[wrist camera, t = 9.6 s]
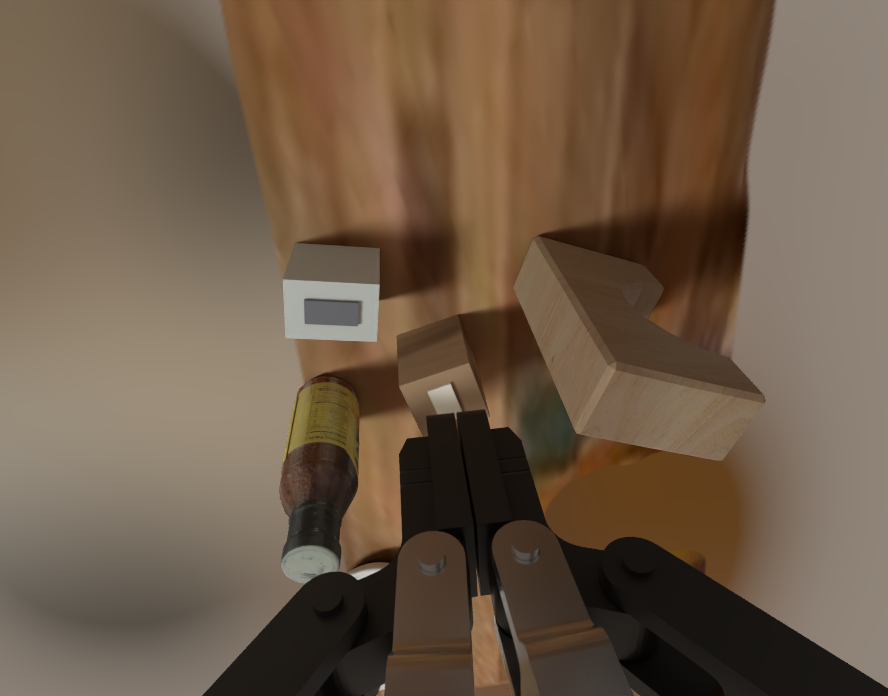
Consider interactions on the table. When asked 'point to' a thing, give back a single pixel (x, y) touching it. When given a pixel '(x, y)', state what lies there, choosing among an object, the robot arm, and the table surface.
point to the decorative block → (628, 356)
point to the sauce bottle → (319, 475)
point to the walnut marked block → (438, 371)
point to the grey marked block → (332, 292)
